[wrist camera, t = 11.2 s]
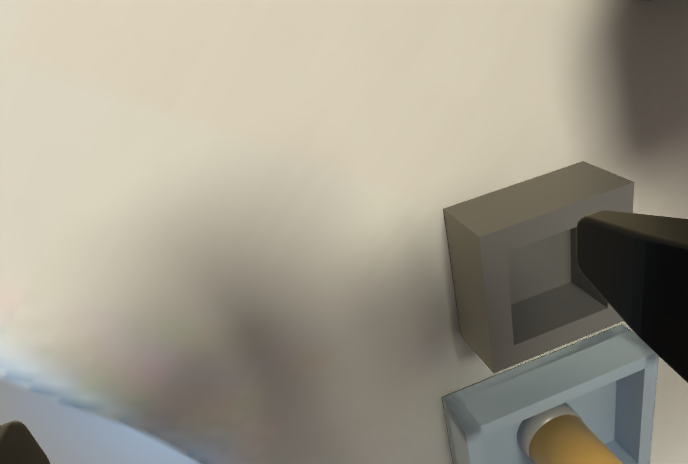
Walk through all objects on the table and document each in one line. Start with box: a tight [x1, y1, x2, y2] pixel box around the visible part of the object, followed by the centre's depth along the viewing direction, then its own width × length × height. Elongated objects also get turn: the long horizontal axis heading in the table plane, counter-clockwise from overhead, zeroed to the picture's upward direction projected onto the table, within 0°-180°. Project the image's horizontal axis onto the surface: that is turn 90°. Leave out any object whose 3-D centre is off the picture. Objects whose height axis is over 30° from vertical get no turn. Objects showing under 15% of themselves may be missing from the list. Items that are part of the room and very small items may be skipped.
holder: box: [444, 162, 634, 373], centre depth 24 cm, size 7×7×3 cm
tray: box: [442, 324, 659, 464], centre depth 29 cm, size 11×9×2 cm
